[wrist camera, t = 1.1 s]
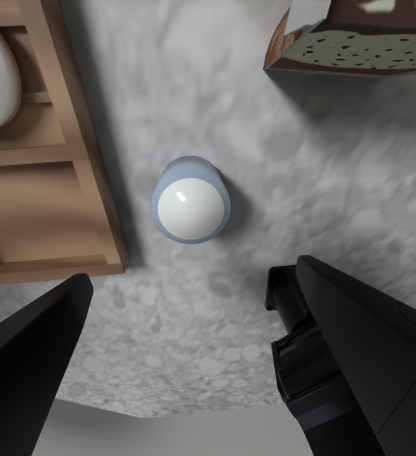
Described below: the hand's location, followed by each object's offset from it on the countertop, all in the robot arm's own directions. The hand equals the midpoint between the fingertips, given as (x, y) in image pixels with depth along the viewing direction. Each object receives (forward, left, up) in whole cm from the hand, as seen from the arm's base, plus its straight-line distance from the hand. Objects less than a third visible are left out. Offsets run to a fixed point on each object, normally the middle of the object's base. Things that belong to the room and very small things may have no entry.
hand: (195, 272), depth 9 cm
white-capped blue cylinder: (0, 0, -12) cm, 12 cm away
